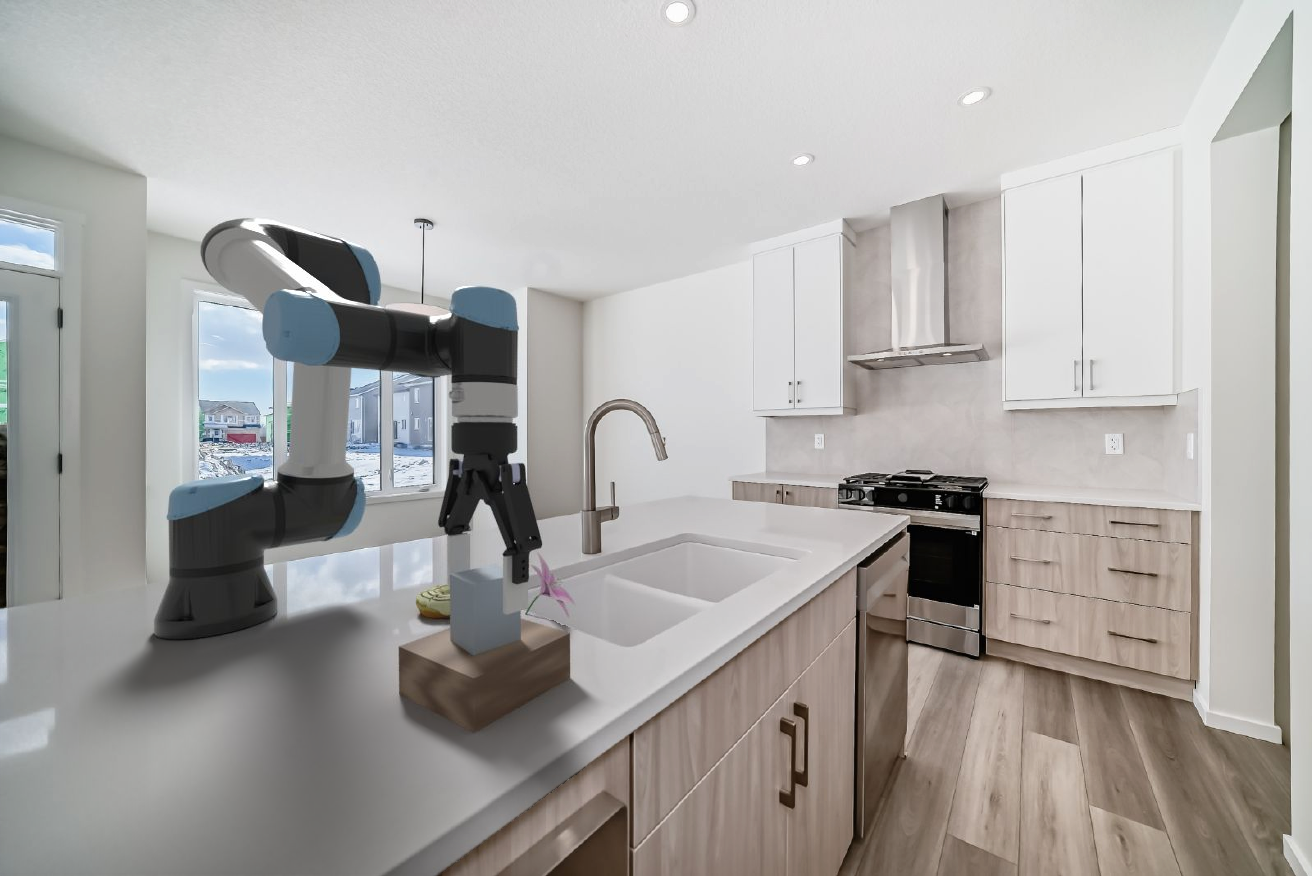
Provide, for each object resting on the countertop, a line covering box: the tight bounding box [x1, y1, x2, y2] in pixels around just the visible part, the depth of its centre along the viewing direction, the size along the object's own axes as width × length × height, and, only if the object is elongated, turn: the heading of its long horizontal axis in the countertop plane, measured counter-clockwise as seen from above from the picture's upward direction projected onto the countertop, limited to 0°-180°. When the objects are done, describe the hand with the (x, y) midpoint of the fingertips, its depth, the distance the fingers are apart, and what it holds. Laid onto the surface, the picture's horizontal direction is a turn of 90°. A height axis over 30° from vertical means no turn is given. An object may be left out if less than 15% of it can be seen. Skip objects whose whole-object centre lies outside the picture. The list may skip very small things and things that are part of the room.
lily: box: [524, 550, 576, 619], centre depth 87 cm, size 12×12×10 cm
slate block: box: [449, 564, 522, 655], centre depth 62 cm, size 6×6×8 cm
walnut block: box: [398, 618, 571, 734], centre depth 62 cm, size 14×14×6 cm
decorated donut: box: [415, 583, 450, 619], centre depth 88 cm, size 10×11×4 cm
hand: (485, 597), depth 62 cm, fingers open, 13 cm apart
